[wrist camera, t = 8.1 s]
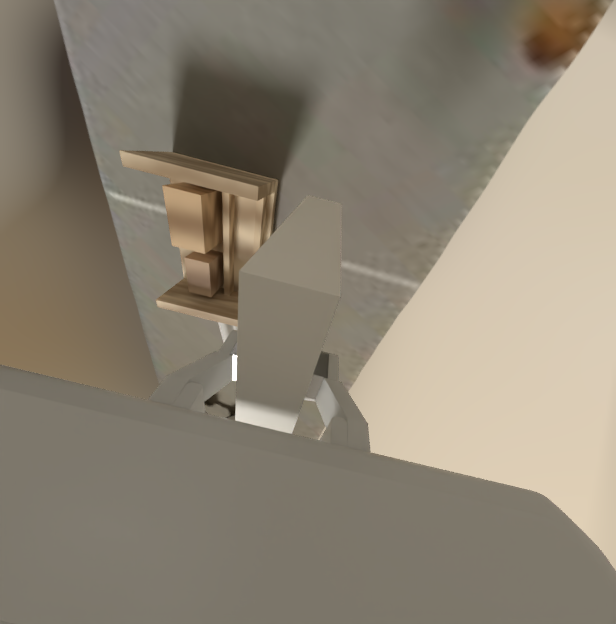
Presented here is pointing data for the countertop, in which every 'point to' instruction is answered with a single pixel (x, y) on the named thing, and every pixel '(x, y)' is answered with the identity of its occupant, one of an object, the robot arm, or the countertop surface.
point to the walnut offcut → (204, 272)
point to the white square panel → (287, 314)
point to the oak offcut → (194, 216)
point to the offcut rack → (235, 223)
